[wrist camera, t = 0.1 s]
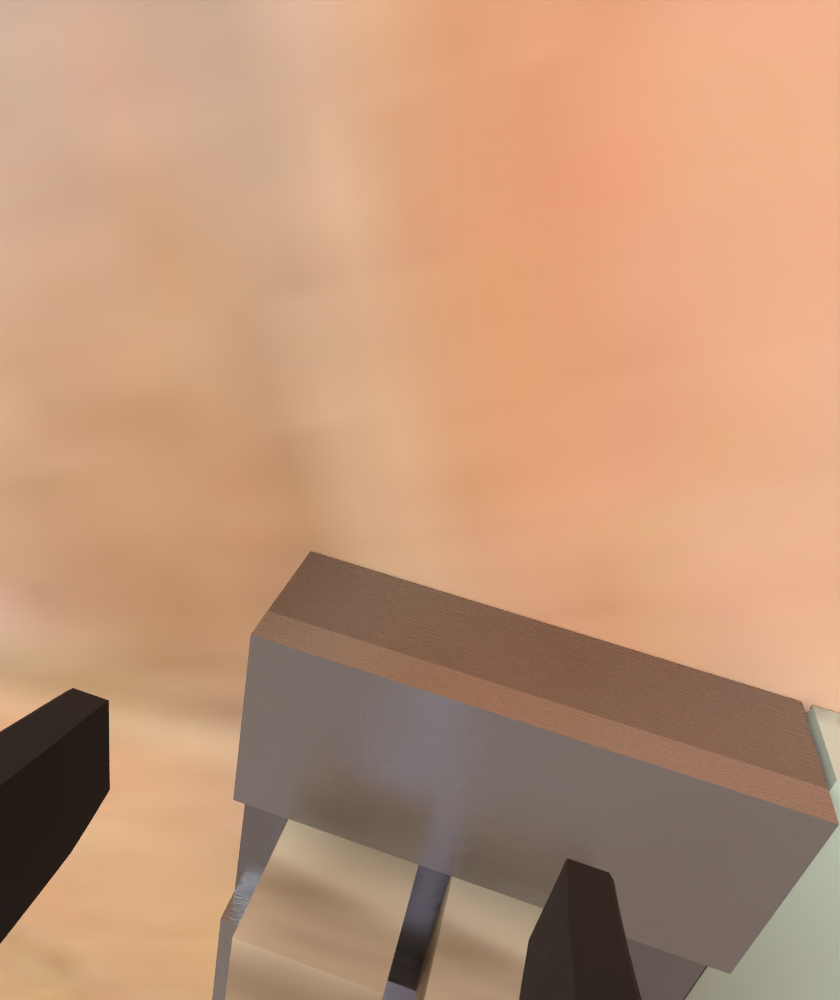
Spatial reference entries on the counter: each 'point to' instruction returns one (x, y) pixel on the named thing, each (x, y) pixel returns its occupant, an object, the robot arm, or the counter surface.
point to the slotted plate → (521, 768)
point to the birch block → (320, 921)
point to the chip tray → (796, 915)
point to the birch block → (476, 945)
